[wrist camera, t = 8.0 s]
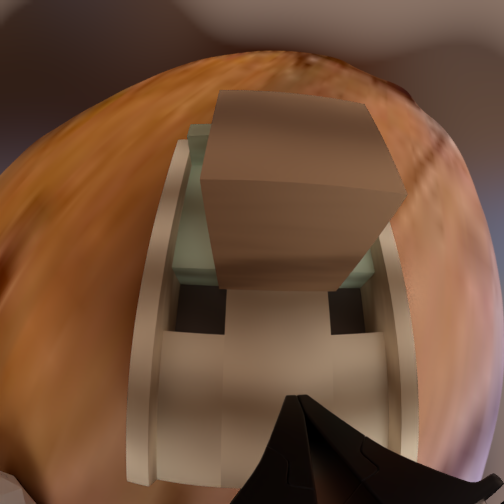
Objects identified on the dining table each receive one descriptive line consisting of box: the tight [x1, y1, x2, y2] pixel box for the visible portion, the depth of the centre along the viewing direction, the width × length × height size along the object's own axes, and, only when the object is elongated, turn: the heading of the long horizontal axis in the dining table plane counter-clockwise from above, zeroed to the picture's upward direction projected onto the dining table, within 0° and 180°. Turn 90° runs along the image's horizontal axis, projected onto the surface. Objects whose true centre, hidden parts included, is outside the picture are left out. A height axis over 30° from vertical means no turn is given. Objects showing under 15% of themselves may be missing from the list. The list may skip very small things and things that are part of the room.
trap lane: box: [126, 124, 419, 489], centre depth 16 cm, size 24×15×6 cm, turn 179°
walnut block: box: [200, 90, 408, 291], centre depth 14 cm, size 6×7×9 cm
